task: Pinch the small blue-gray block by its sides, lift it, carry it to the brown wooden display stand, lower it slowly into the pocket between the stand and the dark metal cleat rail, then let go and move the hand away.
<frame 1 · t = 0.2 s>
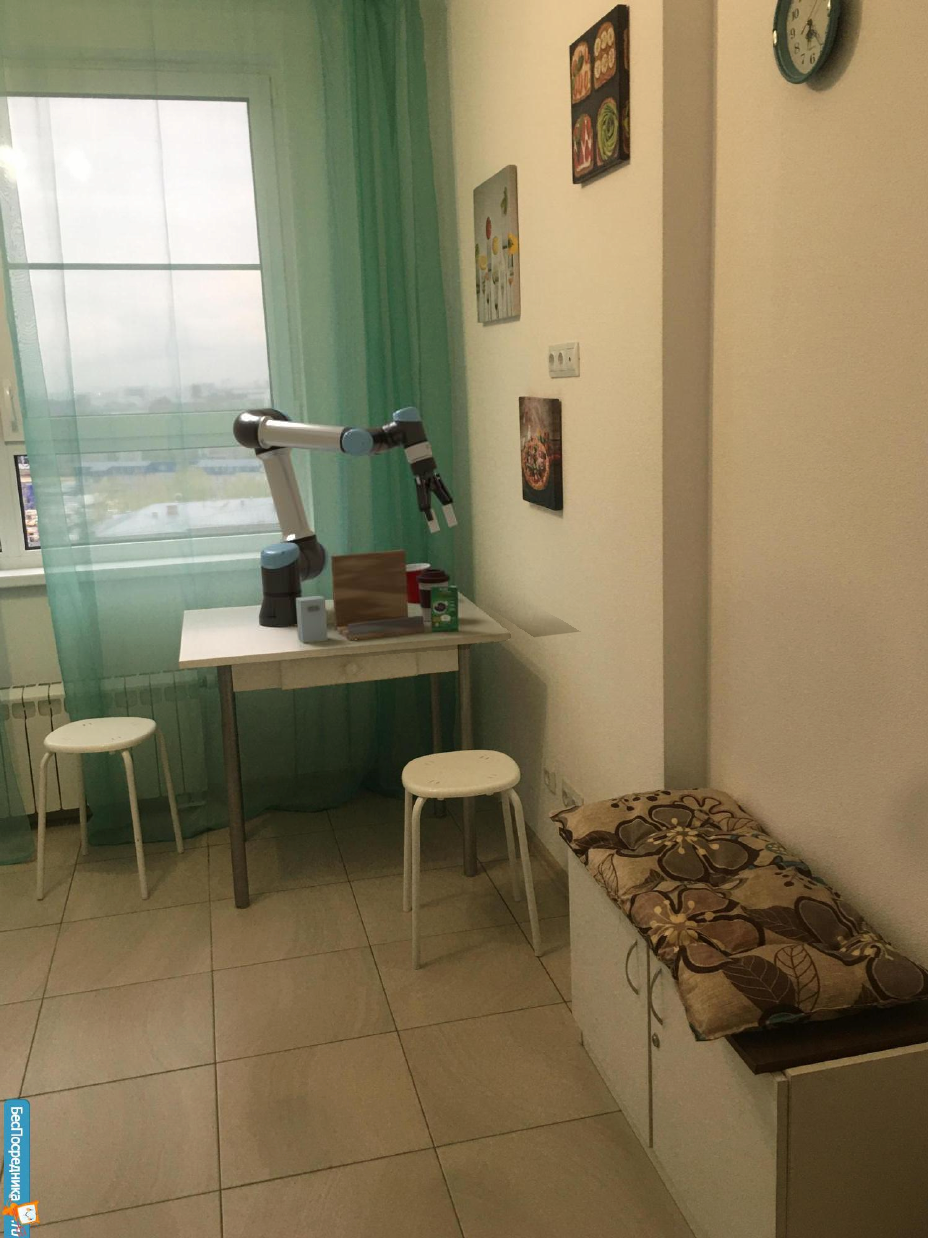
hand: (444, 528, 322), 28 cm above the table, tool tilted 20°, fingers open, 13 cm apart
coffee cup: (434, 620, 330), on the table
small blue-gray block: (312, 640, 307), on the table
coffee box: (445, 631, 314), on the table
plastic cup: (415, 602, 359), on the table
brown wooden display stand: (379, 631, 316), on the table
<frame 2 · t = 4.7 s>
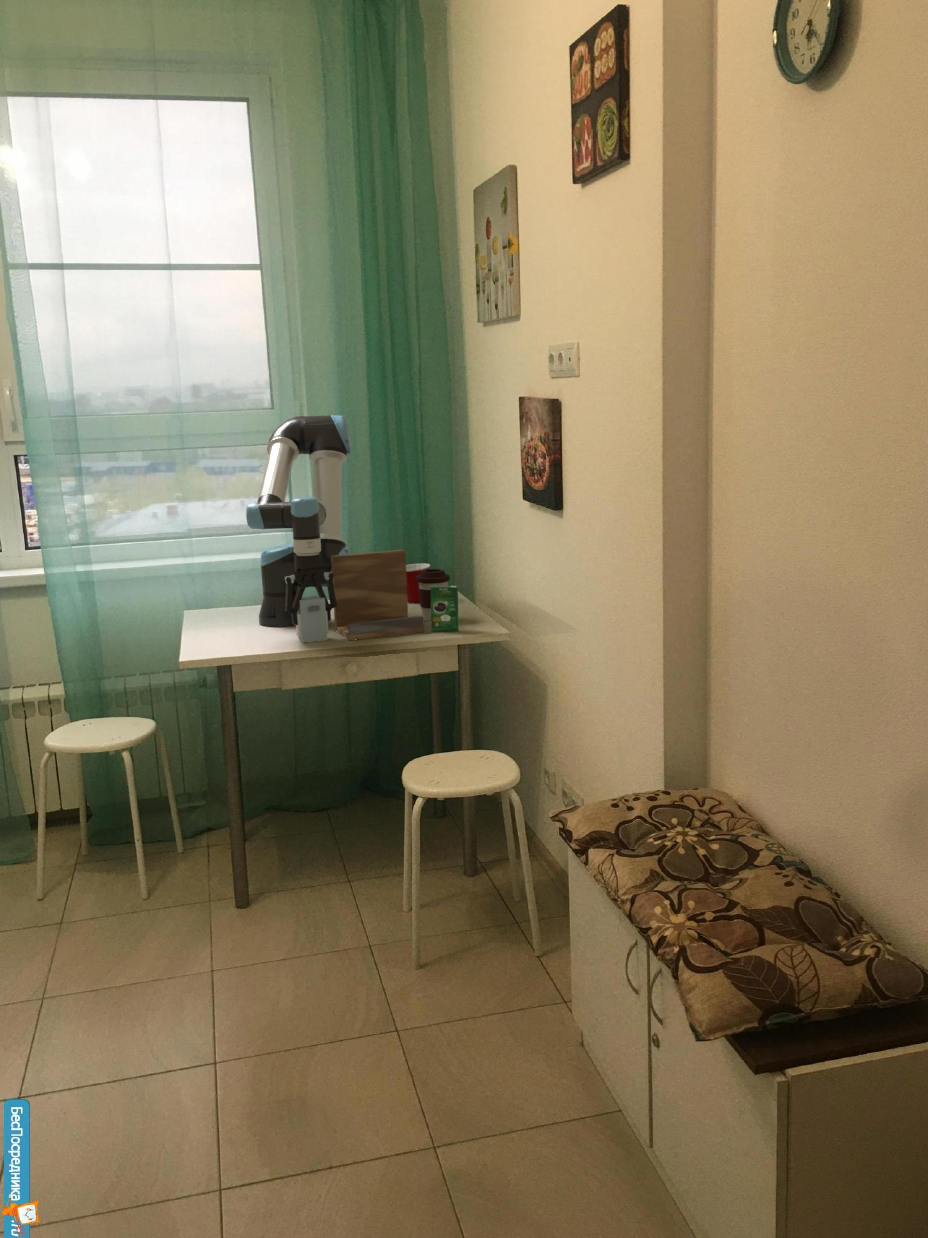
hand: (312, 634, 307), 2 cm above the table, tool pointing down, fingers closed on small blue-gray block, 7 cm apart
small blue-gray block: (312, 640, 307), on the table, touching gripper
everything else where it was.
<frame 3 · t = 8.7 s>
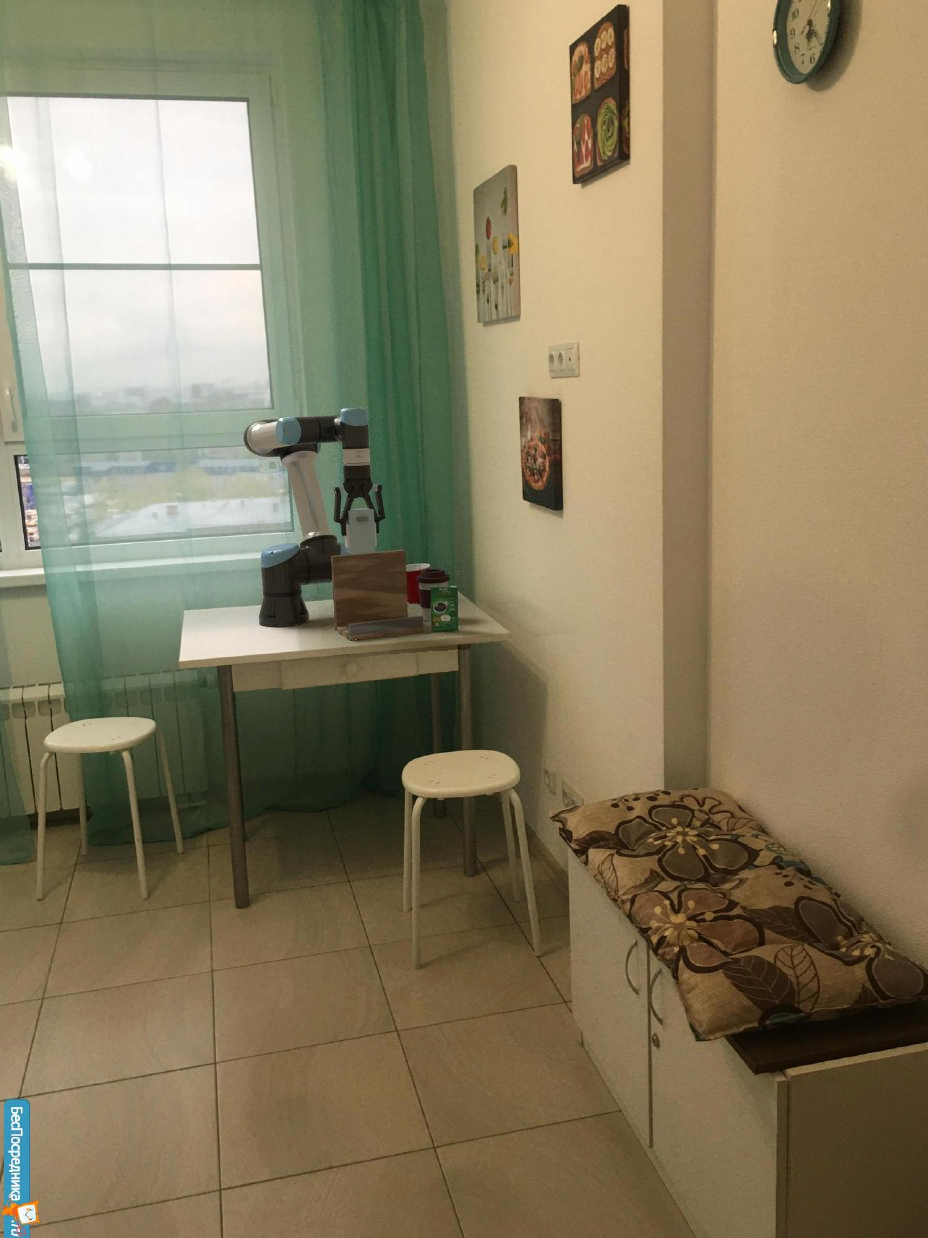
hand: (361, 546, 308), 25 cm above the table, tool pointing down, fingers closed on small blue-gray block, 7 cm apart
small blue-gray block: (361, 551, 308), point 24 cm above the table, touching gripper
everything else where it was.
when the fingers open (4 cm above the table, at t = 12.7 s): small blue-gray block drops 1 cm, resting on brown wooden display stand.
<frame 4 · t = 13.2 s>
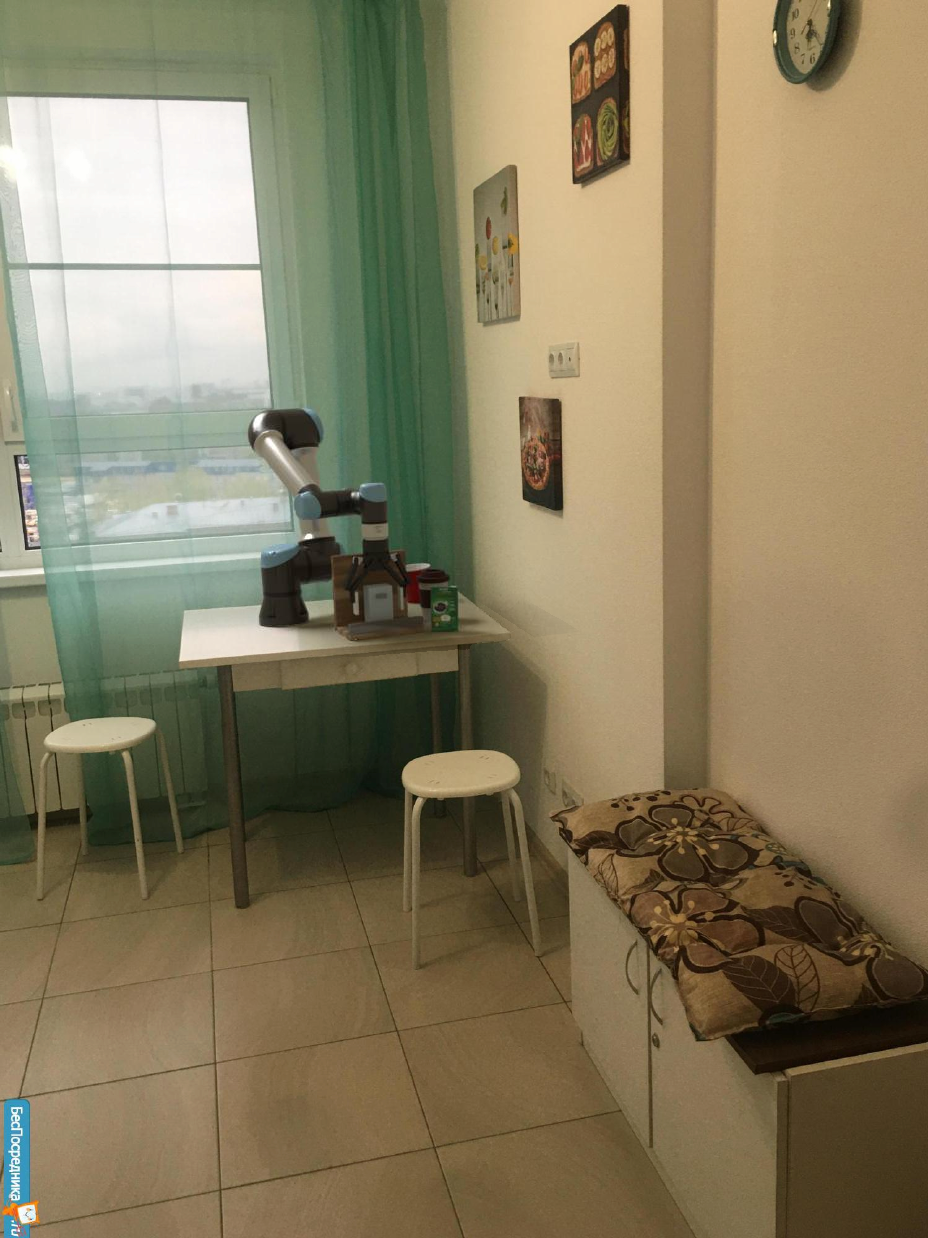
hand: (378, 611, 314), 6 cm above the table, tool pointing down, fingers open, 13 cm apart
small blue-gray block: (379, 626, 315), point 1 cm above the table, touching brown wooden display stand
everything else where it was.
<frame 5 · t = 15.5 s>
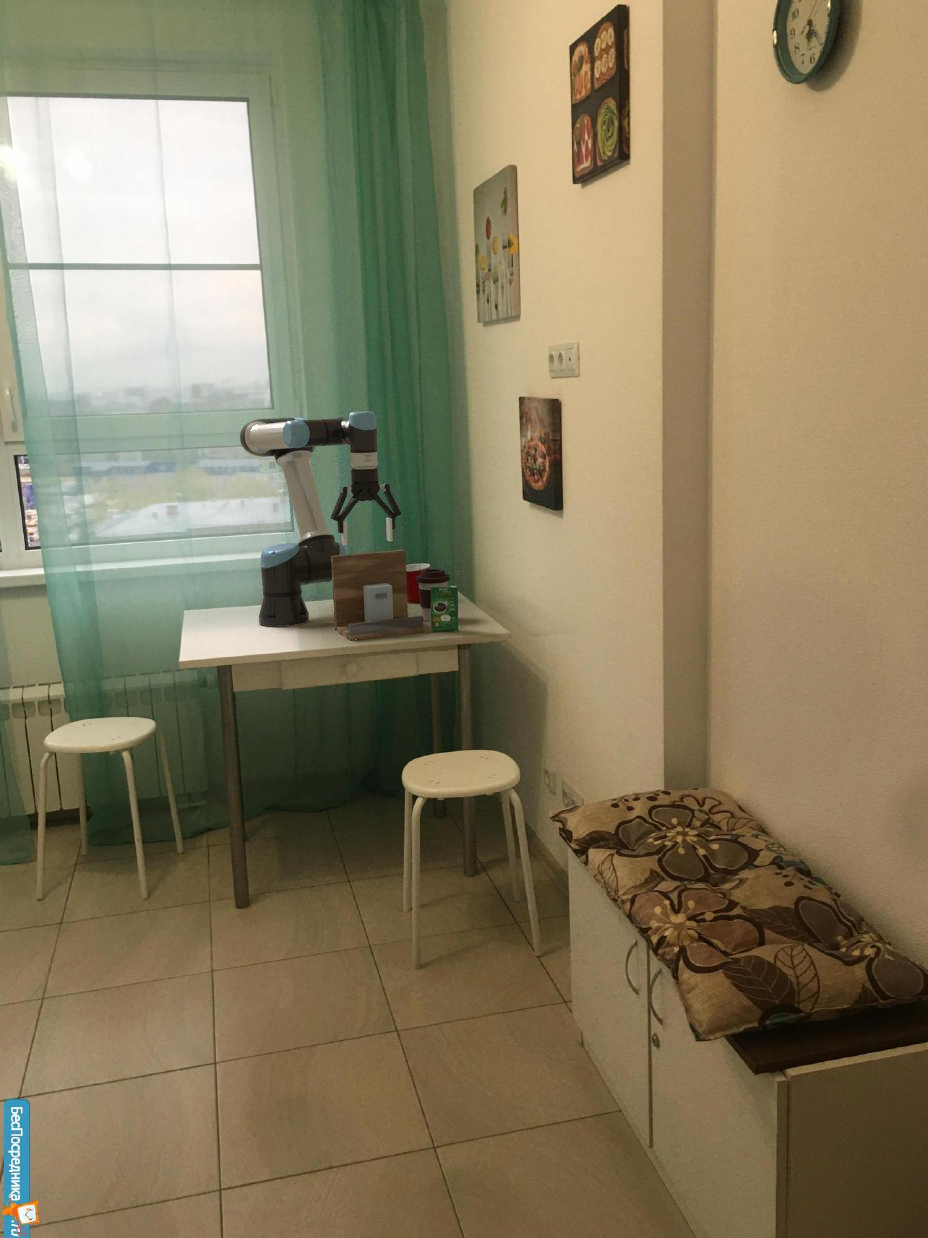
hand: (367, 542, 310), 26 cm above the table, tool pointing down, fingers open, 13 cm apart
nothing on the table moved.
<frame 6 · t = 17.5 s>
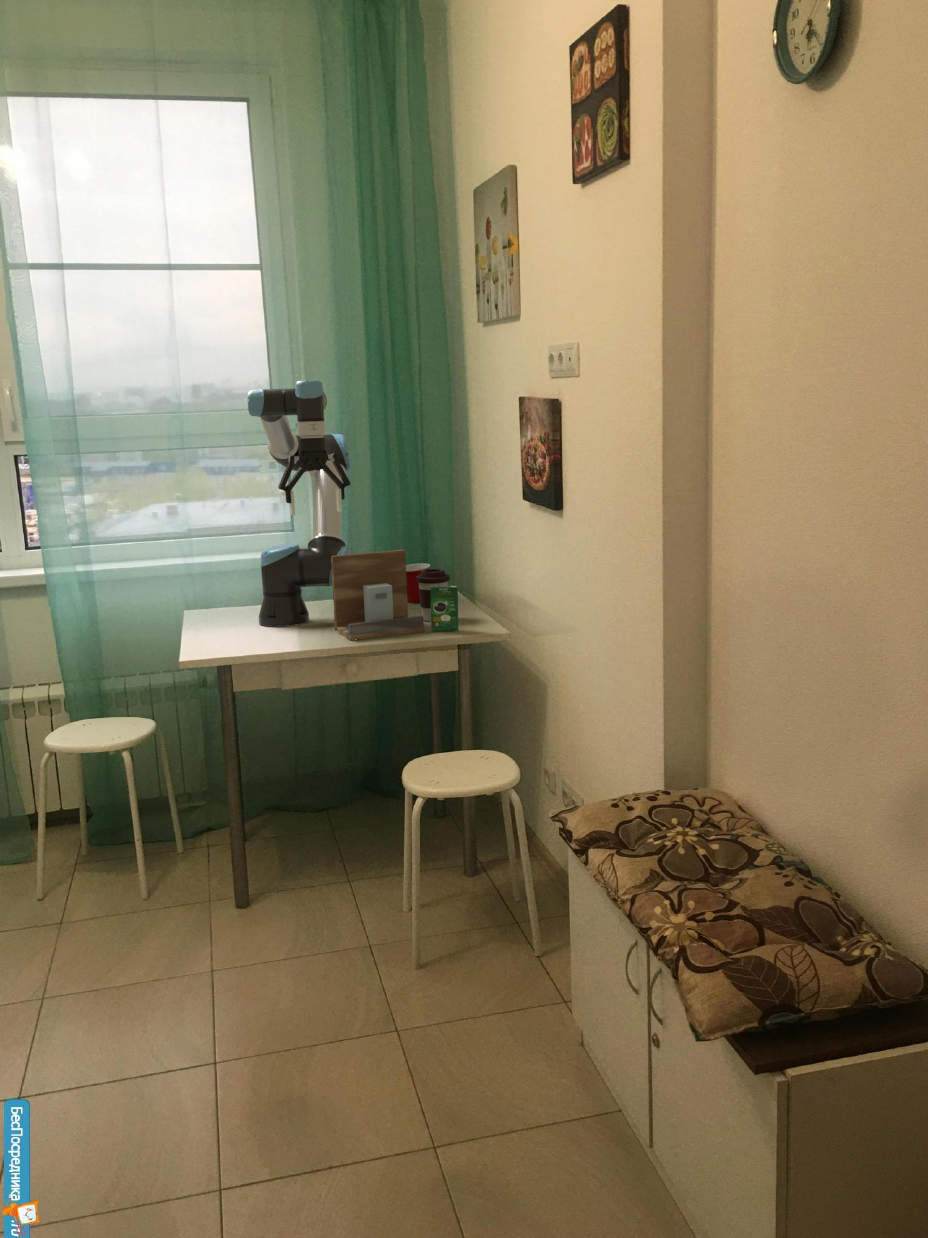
hand: (316, 513, 308), 35 cm above the table, tool pointing down, fingers open, 13 cm apart
nothing on the table moved.
at the end: small blue-gray block inside the target area on the brown wooden display stand (0.1 cm from its centre), point 1.5 cm above the brown wooden display stand's base; small blue-gray block tilted 0°; the gripper is holding nothing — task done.
